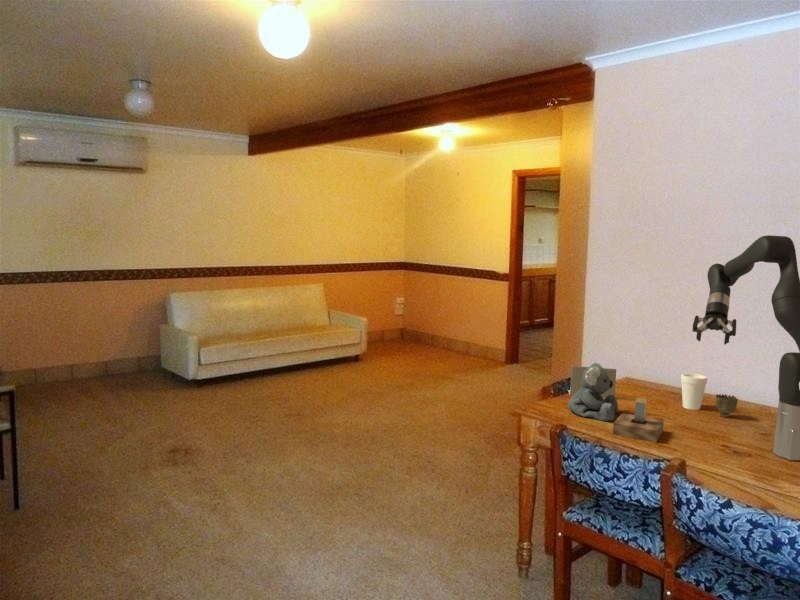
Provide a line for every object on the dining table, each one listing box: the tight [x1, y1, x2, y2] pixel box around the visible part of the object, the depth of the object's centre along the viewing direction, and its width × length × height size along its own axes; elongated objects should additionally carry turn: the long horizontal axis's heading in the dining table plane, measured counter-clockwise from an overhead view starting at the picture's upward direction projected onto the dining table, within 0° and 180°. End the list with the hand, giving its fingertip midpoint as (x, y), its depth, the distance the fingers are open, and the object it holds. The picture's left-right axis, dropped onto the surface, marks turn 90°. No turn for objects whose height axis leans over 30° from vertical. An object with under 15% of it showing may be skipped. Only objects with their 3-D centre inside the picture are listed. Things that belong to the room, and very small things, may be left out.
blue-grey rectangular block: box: [634, 397, 647, 425], centre depth 213 cm, size 3×3×12 cm
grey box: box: [567, 365, 617, 397], centre depth 264 cm, size 18×12×13 cm
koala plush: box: [567, 361, 619, 422], centre depth 234 cm, size 17×18×20 cm
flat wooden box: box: [612, 412, 665, 443], centre depth 214 cm, size 14×14×4 cm
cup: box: [715, 393, 739, 418], centre depth 237 cm, size 8×7×8 cm
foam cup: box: [680, 372, 708, 411], centre depth 247 cm, size 10×9×13 cm
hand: (712, 341), depth 223 cm, fingers open, 8 cm apart
